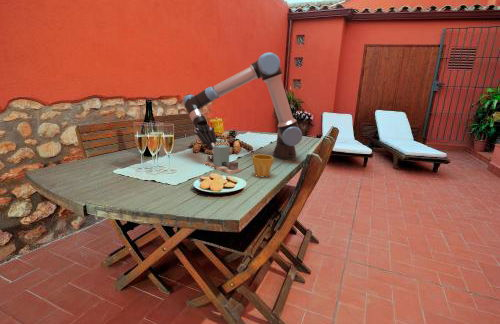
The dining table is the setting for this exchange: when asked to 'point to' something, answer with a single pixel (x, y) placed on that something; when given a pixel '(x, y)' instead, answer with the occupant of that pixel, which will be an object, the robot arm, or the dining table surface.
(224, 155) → the marker sleeve
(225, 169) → the cord board
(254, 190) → the dining table surface
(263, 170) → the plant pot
